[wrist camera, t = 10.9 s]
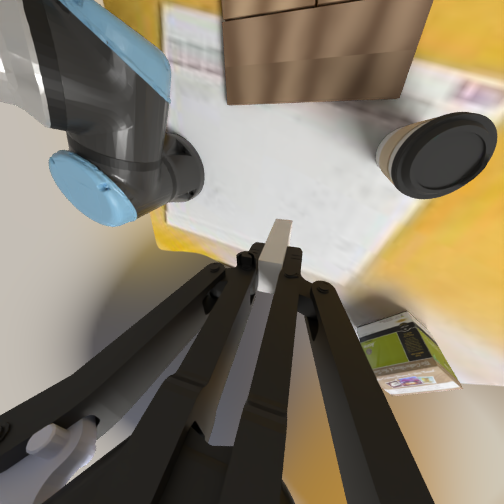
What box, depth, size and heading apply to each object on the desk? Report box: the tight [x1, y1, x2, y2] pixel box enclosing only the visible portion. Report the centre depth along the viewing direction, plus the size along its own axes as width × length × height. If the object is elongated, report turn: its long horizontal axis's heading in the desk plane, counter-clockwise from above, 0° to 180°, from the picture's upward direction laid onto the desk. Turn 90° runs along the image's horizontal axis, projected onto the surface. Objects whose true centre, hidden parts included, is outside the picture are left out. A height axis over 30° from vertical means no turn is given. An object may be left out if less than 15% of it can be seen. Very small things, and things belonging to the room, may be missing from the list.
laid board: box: [222, 0, 433, 105], centre depth 28 cm, size 28×10×1 cm, turn 91°
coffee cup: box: [376, 112, 497, 199], centre depth 26 cm, size 9×9×15 cm
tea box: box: [357, 311, 463, 396], centre depth 48 cm, size 15×10×15 cm
